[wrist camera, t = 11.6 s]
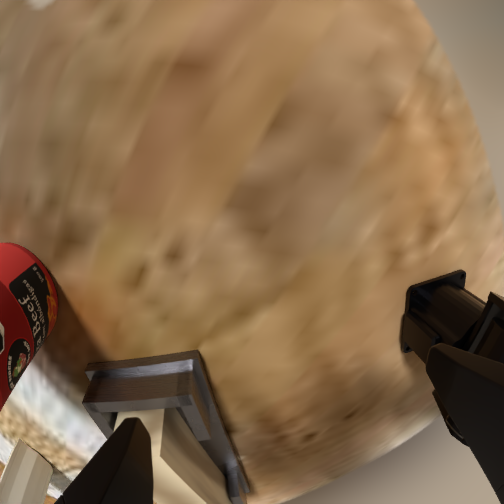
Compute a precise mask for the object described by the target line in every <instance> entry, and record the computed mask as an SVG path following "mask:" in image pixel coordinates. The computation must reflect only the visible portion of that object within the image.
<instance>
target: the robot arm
mask: <svg viewBox="0 0 504 504" xmlns="http://www.w3.org/2000/svg"><path fill="white" fill-rule="evenodd" d="M465 279H466V272H465V271H463V270H462V269H461V270H457V271H454V272H451V273H449V274H446V275H443V276H440V277H436V278H433V279H430V280H427V281H424V282H421V283H418V284H415V285H412V286H410V287H409V289H408V291H407V301H406V312H405V319H404V328H403V336H402V346H401V349H402V350H403V352H404V353H408V352H410V351H414V352H415V353H416V354H417V355H418V356H419V357H420V359H421V360H422V361H423V362H424V363H425V364H426V372H427V374H428V376H429V378H430V380H431V382H432V384H433V386H434V388H435V389H434V391H433V392H432V394H433V396H434V398H435V400H436V402H437V405H438V407H439V409H440V412H441V414H442V416H443V418H444V421H445V423H446V426H447V428H448V429H449V432H450V434H451V435H452V436H454V437H455V438H456V439H457V440H459V441H460V442H461V443H462V444H464V445H466V446H468V447H470V449H471V451H472V452H473V454H474V456H475V457H476V459H477V461H478V462H479V464H480V466H481V468H482V469H483V471H484V473H485V475H486V477H487V478H488V480H489V481H490V484H491V486H492V487H493V489H494V491H495V492H496V495H497V497H498V499H499V501H500V503H501V504H504V297H502V296H500V295H498V294H495V293H493V292H490V294H489V296H488V301H487V303H485V302H484V301H482V300H481V299H480V298H478V297H477V296H475V295H474V294H472V293H471V292H469V291H467V290H466V289H464V286H465ZM414 290H415V291H414ZM413 291H414V293H413ZM153 490H154V479H153V465H152V449H151V437H150V434H149V432H148V431H147V429H146V427H145V426H144V424H143V422H142V421H141V419H140V418H138V417H127V418H125V419H124V420H123V421H122V422H121V424H120V425H119V426H118V427H117V428H116V430H115V431H114V432H113V433H112V435H111V436H110V437H109V438H108V439H107V441H106V442H105V443H104V444H103V445H102V447H101V448H100V449H99V450H98V451H97V453H96V454H95V455H94V456H93V458H92V459H91V460H90V461H89V462H88V464H87V465H86V466H85V467H84V468H83V470H82V471H81V472H80V473H79V474H78V476H77V477H76V478H75V479H74V480H73V482H72V483H71V484H70V485H69V486H68V488H67V489H66V490H65V491H64V492H63V495H61V496H60V497H59V498H58V499H57V501H56V502H55V503H54V504H153Z"/></svg>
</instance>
